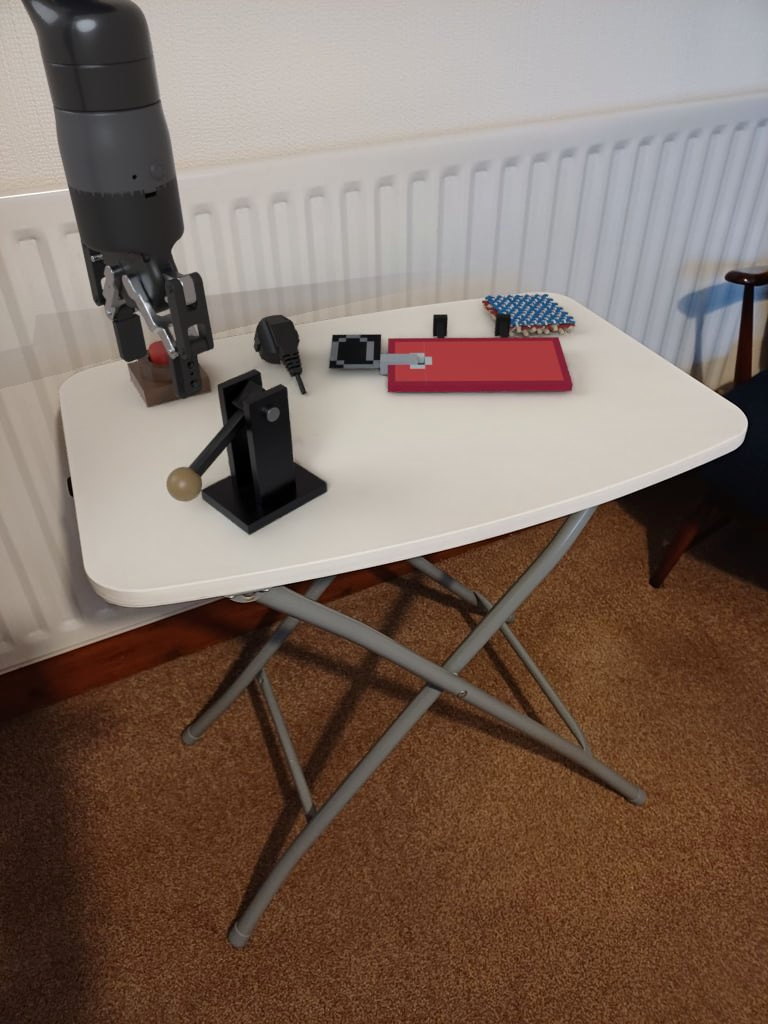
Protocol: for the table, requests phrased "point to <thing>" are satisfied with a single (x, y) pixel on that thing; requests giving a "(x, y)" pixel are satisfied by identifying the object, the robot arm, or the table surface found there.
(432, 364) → the red board with handle
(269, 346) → the power plug
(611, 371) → the table surface
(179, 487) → the switch lever
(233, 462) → the switch bracket
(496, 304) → the woven mat
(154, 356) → the button
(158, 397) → the button block
